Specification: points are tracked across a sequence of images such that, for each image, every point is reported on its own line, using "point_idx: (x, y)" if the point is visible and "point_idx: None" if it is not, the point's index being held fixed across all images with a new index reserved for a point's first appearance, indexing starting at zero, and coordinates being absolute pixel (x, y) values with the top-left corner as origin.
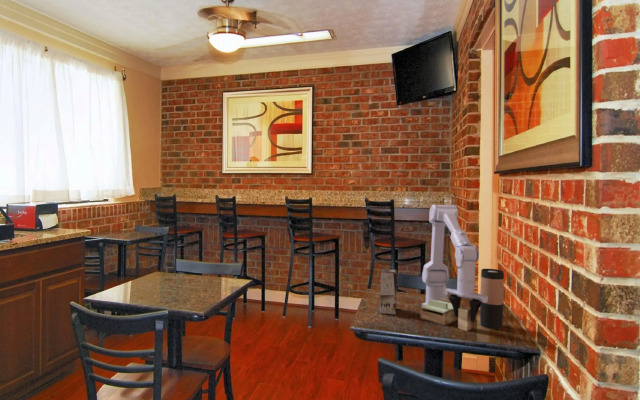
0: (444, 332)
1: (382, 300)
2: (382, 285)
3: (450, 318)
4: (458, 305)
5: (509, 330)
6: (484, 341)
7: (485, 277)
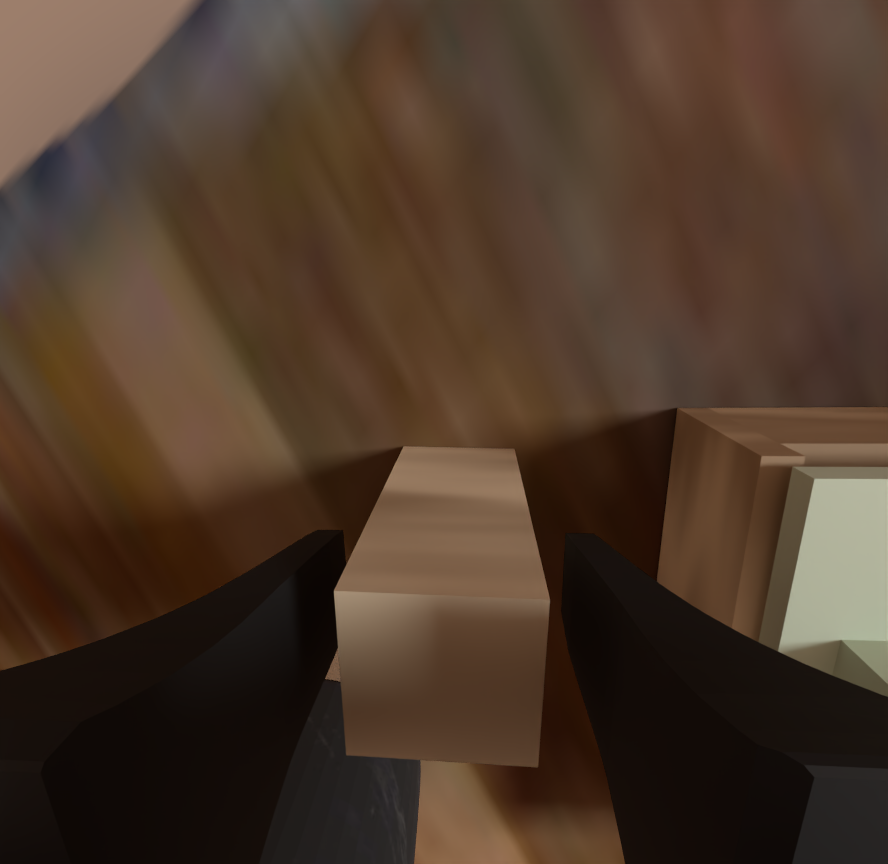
0: (562, 148)
1: None
2: None
3: (686, 578)
4: (621, 743)
5: None
6: (94, 266)
7: None
